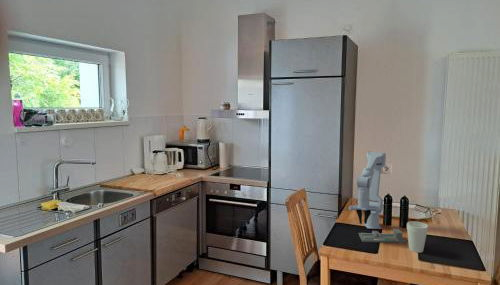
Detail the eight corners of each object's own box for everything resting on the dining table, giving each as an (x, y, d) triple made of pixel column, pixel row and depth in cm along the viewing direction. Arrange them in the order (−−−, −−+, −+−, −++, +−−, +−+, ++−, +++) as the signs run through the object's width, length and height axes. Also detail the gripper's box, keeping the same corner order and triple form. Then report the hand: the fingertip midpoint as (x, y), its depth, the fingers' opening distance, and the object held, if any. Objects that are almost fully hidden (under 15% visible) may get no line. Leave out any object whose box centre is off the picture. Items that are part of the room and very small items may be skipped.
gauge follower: (372, 234, 188) (372, 230, 188) (377, 234, 188) (377, 231, 188) (375, 239, 182) (375, 235, 181) (381, 239, 181) (381, 235, 181)
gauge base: (358, 234, 192) (358, 226, 191) (399, 235, 190) (399, 227, 189) (362, 242, 182) (363, 233, 181) (406, 243, 180) (406, 234, 179)
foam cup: (424, 247, 175) (425, 222, 174) (428, 254, 166) (430, 228, 165) (404, 245, 178) (405, 220, 176) (407, 252, 169) (408, 227, 167)
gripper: (351, 200, 181) (350, 225, 182) (379, 201, 179) (378, 226, 181) (348, 196, 188) (348, 221, 189) (376, 197, 186) (375, 221, 188)
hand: (362, 223), depth 186 cm, fingers closed
